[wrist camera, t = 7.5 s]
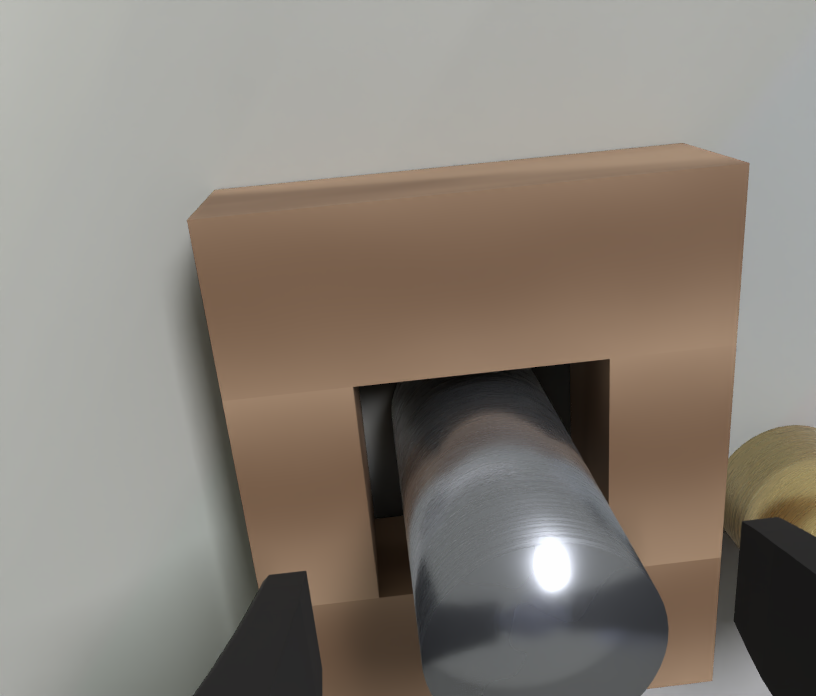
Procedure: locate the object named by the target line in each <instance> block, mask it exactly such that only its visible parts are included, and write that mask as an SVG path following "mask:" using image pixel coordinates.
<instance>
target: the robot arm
mask: <svg viewBox="0 0 816 696" xmlns="http://www.w3.org/2000/svg"><path fill="white" fill-rule="evenodd" d="M734 622H735V624H736V626H737V629H738V631H739V633H740V635H741V637H742V639H743V642H744V644H745V646H746V648H747V650H748V652H749V654H750V656H751V658H752V660H753V662H754V664H755V666H756V668H757V670H758V672H759V674H760V676H761V678H762V680H763V681H764V683H765V684H766V686H767V687H768V689H769V691H770V692H771V694H772V695H773V696H816V537H815V536H813V535H811V534H810V533H808V532H806V531H804V530H803V529H801V528H799V527H797V526H795V525H793V524H791V523H790V522H788V521H786V520H784V519H782V518H779V517H773V518H764V519H755V520H747V521H742V526H741V538H740V551H739V563H738V576H737V588H736V600H735V613H734ZM193 696H322V664H321V657H320V651H319V645H318V639H317V633H316V627H315V621H314V615H313V609H312V603H311V597H310V590H309V584H308V578H307V572H306V571H298V572H289V573H281V574H272V575H268V576H267V578H266V579H265V580H264V581H263V582H262V584H261V586H260V588H259V590H258V592H257V594H256V596H255V598H254V600H253V601H252V603H251V605H250V607H249V609H248V610H247V612H246V614H245V616H244V617H243V619H242V621H241V623H240V624H239V626H238V628H237V629H236V631H235V633H234V634H233V636H232V638H231V639H230V641H229V642H228V644H227V646H226V647H225V649H224V650H223V652H222V653H221V655H220V657H219V658H218V660H217V661H216V663H215V664H214V666H213V668H212V669H211V671H210V672H209V674H208V675H207V676H206V678H205V679H204V681H203V682H202V683H201V685H200V686H199V688H198V689H197V690H196V692H195V693H194V695H193Z"/></svg>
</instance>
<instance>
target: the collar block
mask: <svg viewBox="0 0 816 696" xmlns="http://www.w3.org/2000/svg"><path fill="white" fill-rule="evenodd" d="M748 176H749V163H747V162H744V161H741V160H737V159H734V158H731V157H727V156H724V155H721V154H717V153H714V152H711V151H707V150H704V149H701V148H697V147H694V146H691V145H687V144H684V143H679V144H669V145H659V146H649V147H639V148H629V149H619V150H609V151H599V152H589V153H579V154H569V155H559V156H549V157H539V158H529V159H519V160H509V161H499V162H489V163H479V164H469V165H459V166H449V167H439V168H429V169H419V170H409V171H399V172H389V173H379V174H369V175H359V176H349V177H339V178H329V179H319V180H309V181H299V182H289V183H279V184H269V185H259V186H249V187H239V188H229V189H219V190H214V191H213V192H212V193H211V194H210V195H209V197H208V198H207V199H206V200H205V201H204V202H203V203H202V204H201V205H200V206H199V208H198V209H197V210H196V211H195V212H194V213H193V214H192V215H191V216H190V217H189V218H188V220H187V222H188V228H189V233H190V238H191V243H192V248H193V253H194V259H195V264H196V269H197V274H198V279H199V284H200V290H201V295H202V300H203V305H204V310H205V315H206V320H207V326H208V331H209V336H210V341H211V346H212V351H213V357H214V362H215V367H216V372H217V377H218V382H219V387H220V393H221V398H222V403H223V408H224V413H225V418H226V424H227V429H228V434H229V439H230V444H231V449H232V455H233V460H234V465H235V470H236V475H237V480H238V485H239V491H240V496H241V501H242V506H243V511H244V516H245V522H246V527H247V532H248V537H249V542H250V547H251V553H252V558H253V563H254V568H255V573H256V578H257V583H258V589H259V588H260V586H261V584H262V582H263V581H264V580H265V579H266V578H267V576H268V575H272V574H281V573H289V572H298V571H306V572H307V578H308V584H309V590H310V597H311V603H312V609H313V615H314V621H315V627H316V633H317V639H318V645H319V651H320V657H321V664H322V696H432V694H431V693H430V690H429V688H428V686H427V684H426V681H425V677H424V674H423V670H422V662H421V653H420V645H419V637H418V629H417V621H416V612H415V604H414V596H413V588H412V579H411V571H410V563H409V555H408V546H407V538H406V530H405V522H404V516H397V517H388V518H380V519H375V516H374V508H373V500H372V491H371V483H370V475H369V467H368V459H367V450H366V442H365V434H364V426H363V418H362V409H361V401H360V393H359V386H366V385H375V384H384V383H393V382H403V381H412V380H421V379H430V378H439V377H448V376H457V375H467V374H476V373H485V372H494V371H503V370H512V369H522V368H531V367H540V366H549V365H558V364H567V363H570V403H571V439H572V441H573V443H574V445H575V446H576V448H577V450H578V452H579V453H580V455H581V457H582V459H583V460H584V462H585V464H586V466H587V467H588V469H589V471H590V473H591V474H592V476H593V478H594V480H595V482H596V483H597V485H598V487H599V489H600V490H601V492H602V494H603V496H604V497H605V499H606V501H607V503H608V504H609V506H610V508H611V510H612V511H613V513H614V515H615V517H616V518H617V520H618V522H619V524H620V526H621V527H622V529H623V531H624V533H625V534H626V536H627V538H628V540H629V541H630V543H631V545H632V547H633V548H634V550H635V552H636V554H637V555H638V557H639V559H640V561H641V563H642V564H643V566H644V568H645V570H646V571H647V573H648V575H649V577H650V578H651V580H652V582H653V584H654V585H655V587H656V589H657V591H658V592H659V595H660V597H661V599H662V601H663V603H664V606H665V610H666V613H667V618H668V628H669V631H668V644H667V648H666V653H665V656H664V659H663V661H662V664H661V667H660V669H659V670H658V672H657V674H656V676H655V678H654V679H653V681H652V682H651V684H650V685H649V686H648V688H647V689H650V688H658V687H666V686H675V685H683V684H691V683H699V682H707V681H712V676H713V662H714V648H715V634H716V620H717V607H718V593H719V579H720V565H721V551H722V537H723V523H724V509H725V495H726V481H727V468H728V454H729V440H730V426H731V412H732V398H733V384H734V370H735V356H736V343H737V329H738V315H739V301H740V287H741V273H742V259H743V245H744V231H745V217H746V204H747V190H748Z"/></svg>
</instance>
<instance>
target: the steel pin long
mask: <svg viewBox="0 0 816 696" xmlns="http://www.w3.org/2000/svg"><path fill="white" fill-rule="evenodd" d="M391 413H392V423H393V431H394V439H395V448H396V456H397V464H398V472H399V481H400V489H401V497H402V505H403V513H404V522H405V530H406V538H407V546H408V555H409V563H410V571H411V579H412V588H413V596H414V604H415V612H416V621H417V629H418V637H419V645H420V653H421V662H422V670H423V674H424V677H425V681H426V684H427V686H428V688H429V690H430V693H431V694H432V696H641V695H642V694H643V693H644V692H645V690H646V689H647V688H648V686H649V685H650V684H651V682H652V681H653V679H654V678H655V676H656V674H657V672H658V670H659V669H660V667H661V664H662V661H663V659H664V656H665V653H666V648H667V644H668V631H669V628H668V618H667V613H666V610H665V606H664V603H663V601H662V599H661V597H660V595H659V592H658V591H657V589H656V587H655V585H654V584H653V582H652V580H651V578H650V577H649V575H648V573H647V571H646V570H645V568H644V566H643V564H642V563H641V561H640V559H639V557H638V555H637V554H636V552H635V550H634V548H633V547H632V545H631V543H630V541H629V540H628V538H627V536H626V534H625V533H624V531H623V529H622V527H621V526H620V524H619V522H618V520H617V518H616V517H615V515H614V513H613V511H612V510H611V508H610V506H609V504H608V503H607V501H606V499H605V497H604V496H603V494H602V492H601V490H600V489H599V487H598V485H597V483H596V482H595V480H594V478H593V476H592V474H591V473H590V471H589V469H588V467H587V466H586V464H585V462H584V460H583V459H582V457H581V455H580V453H579V452H578V450H577V448H576V446H575V445H574V443H573V441H572V439H571V438H570V436H569V434H568V432H567V430H566V429H565V427H564V425H563V423H562V422H561V420H560V418H559V416H558V415H557V413H556V411H555V409H554V408H553V406H552V404H551V402H550V401H549V399H548V397H547V395H546V393H545V392H544V390H543V388H542V386H541V385H540V383H539V381H538V379H537V378H536V376H535V374H534V372H533V371H532V369H531V368H522V369H512V370H503V371H494V372H485V373H476V374H467V375H457V376H448V377H439V378H430V379H421V380H412V381H403V382H398V383H397V385H396V388H395V391H394V394H393V399H392V409H391Z"/></svg>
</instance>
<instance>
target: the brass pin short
mask: <svg viewBox="0 0 816 696" xmlns="http://www.w3.org/2000/svg"><path fill="white" fill-rule="evenodd" d="M773 517H779V518H782V519H784V520H786V521H788V522H790V523H791V524H793V525H795V526H797V527H799V528H801V529H803V530H804V531H806V532H808V533H810V534H811V535H813V536H815V537H816V428H814V427H809V426H800V425H793V426H784V427H778V428H775V429H771V430H768V431H766V432H763V433H761V434H759V435H757V436H755V437H753V438H752V439H750V440H749V441H747V442H746V443H744V444H743V445H742V446H741V447H740V448H738V449H737V450H736V451H735V452H734V453H733V454H732V455H731V456H730V458H729V459H728V468H727V481H726V495H725V509H724V523H723V528H724V530H725V531H726V532H727V533H728V535H729V536H730V537H731V539H732V540H733V541H734V542H735V544H736V545H737V546H738V548H739V549H740V538H741V526H742V521H747V520H755V519H764V518H773Z"/></svg>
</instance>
